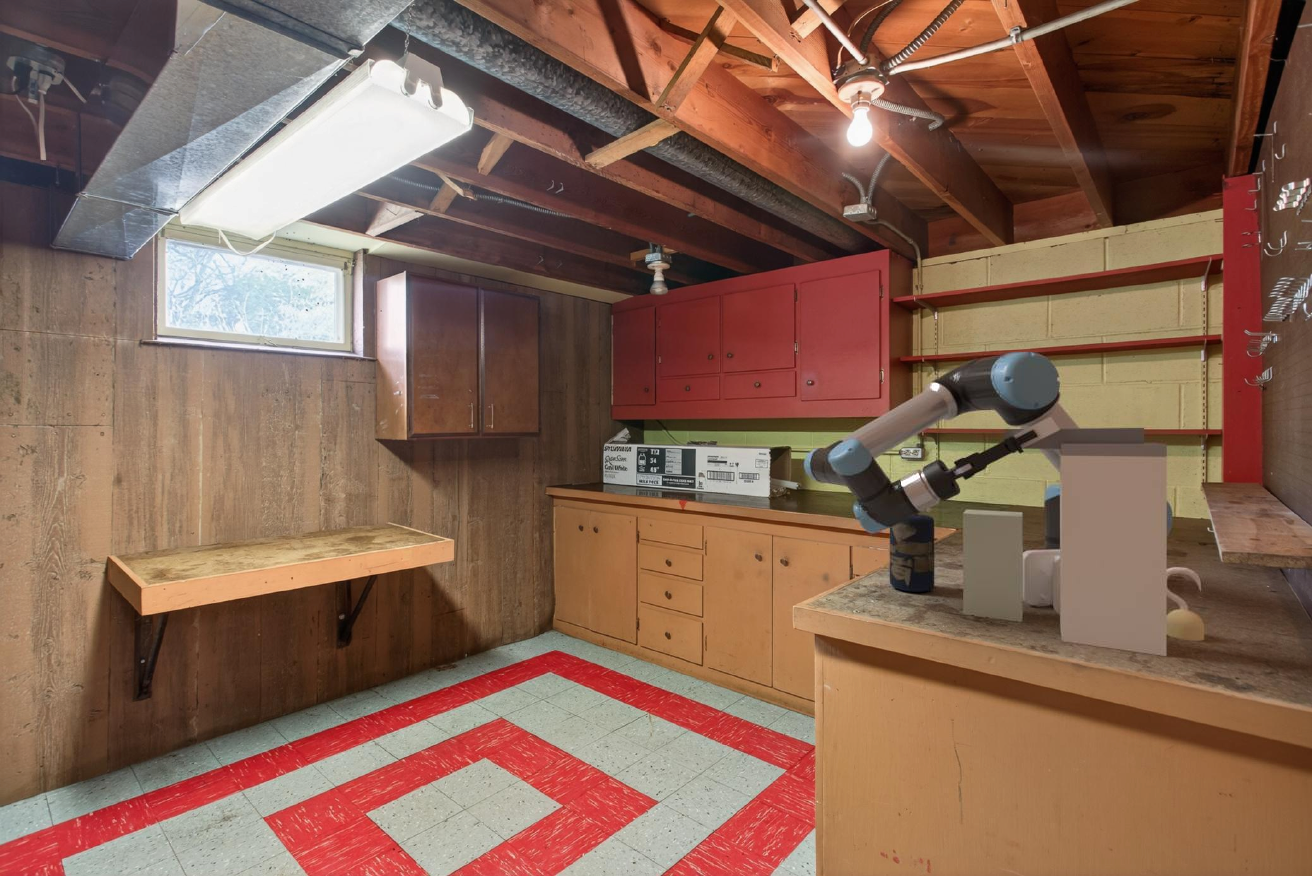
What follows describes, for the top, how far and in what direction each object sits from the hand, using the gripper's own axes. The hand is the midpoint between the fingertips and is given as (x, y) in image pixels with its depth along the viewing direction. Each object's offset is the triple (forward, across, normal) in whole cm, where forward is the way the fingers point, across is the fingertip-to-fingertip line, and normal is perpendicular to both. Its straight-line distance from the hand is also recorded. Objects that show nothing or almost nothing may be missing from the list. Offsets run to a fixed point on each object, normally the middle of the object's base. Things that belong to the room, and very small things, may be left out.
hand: (1054, 423), depth 109 cm
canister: (-43, -20, -19) cm, 51 cm away
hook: (-3, -10, -42) cm, 43 cm away
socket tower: (-12, 0, -36) cm, 38 cm away
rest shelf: (-28, -8, -27) cm, 40 cm away
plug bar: (0, 0, -5) cm, 5 cm away
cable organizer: (-17, -18, -34) cm, 42 cm away
